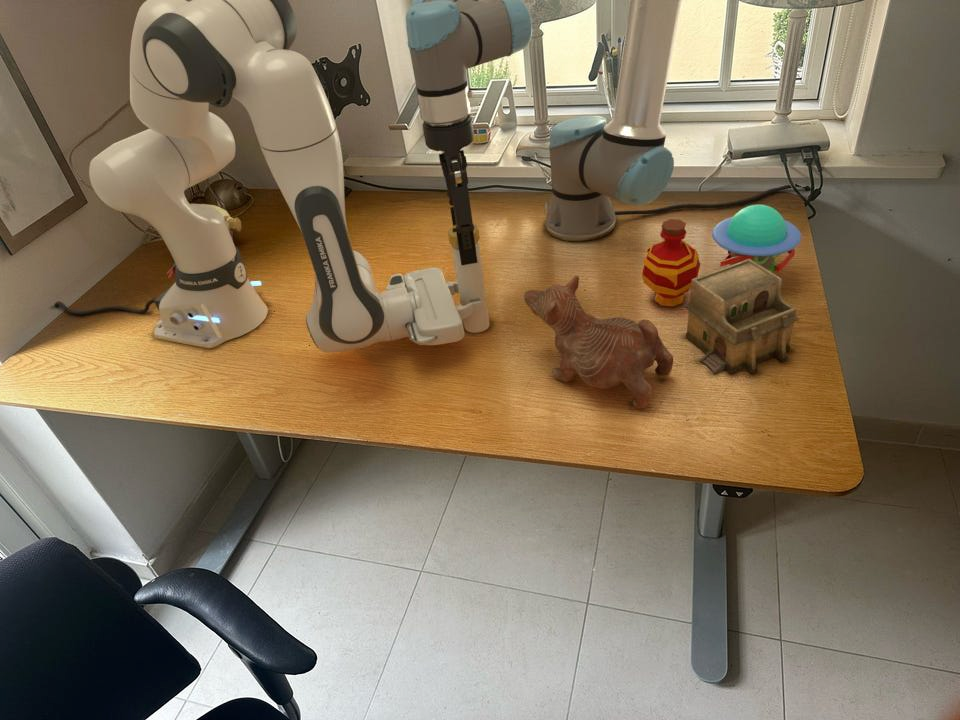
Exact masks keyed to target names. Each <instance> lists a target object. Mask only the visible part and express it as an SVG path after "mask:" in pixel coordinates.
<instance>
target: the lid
mask: <svg viewBox="0 0 960 720" xmlns="http://www.w3.org/2000/svg"><path fill="white" fill-rule="evenodd" d="M473 225H474V231H473V232H474V240H475V244H476V243H477V242H478V241H479V242H480V240H481V239H480V232H479V231H480V230H479V227H478V225H477V224H475V223H473ZM452 228H456V225H454V226H453V225H452V226H451V227H450V228H449V229H448V233H447V234H448V242H449V244H450V245H451V247H452V246H454V247H458V240H457V234H456V232H454V233H453V230H452ZM458 248H459V247H458Z"/></svg>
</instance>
